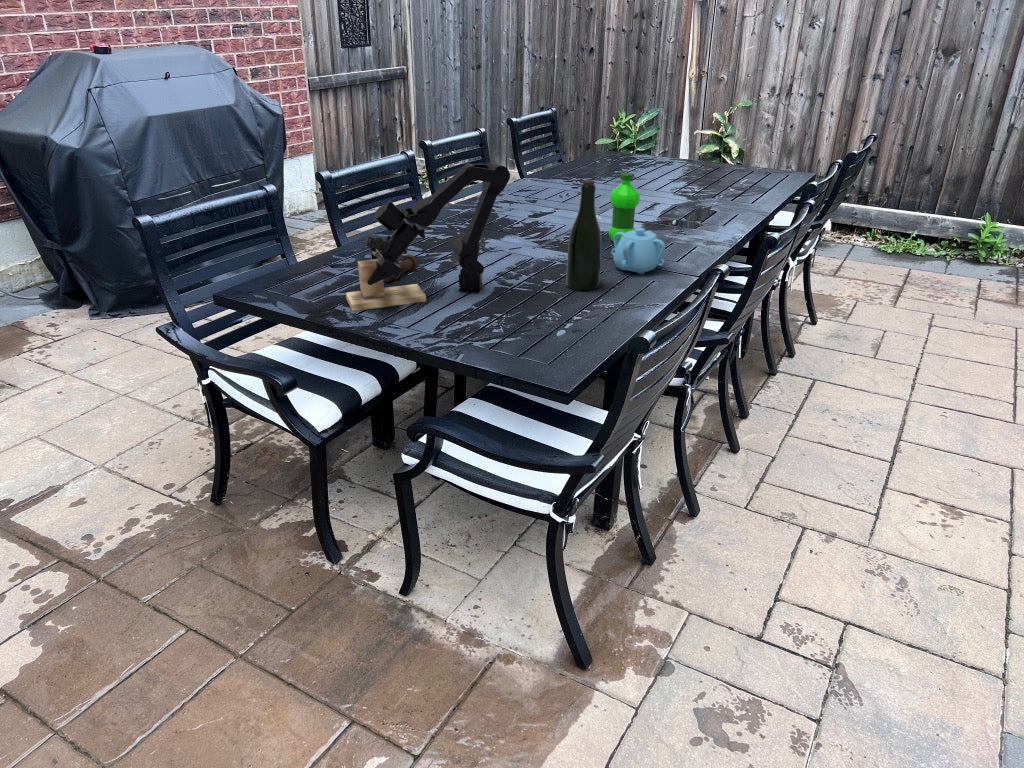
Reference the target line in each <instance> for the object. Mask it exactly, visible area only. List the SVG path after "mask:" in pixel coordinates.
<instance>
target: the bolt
mask: <svg viewBox="0 0 1024 768" xmlns="http://www.w3.org/2000/svg"><path fill="white" fill-rule="evenodd" d="M398 265H399V266H400V268H401V271H402V273H401V275H403V274H404V273H405V272H408V271H412V272H414V271H417V268H418V267H419V260H418V259H417V258H416V256H415V255H413V254H405V255H404V257H403V259H402V261H401V262H398ZM401 275H400V276H399V277H398V278H396V277H395V276H390V277H388V278H385V279H383V282H386V283H389V282H390V281H397V280H399V278H400V277H401Z"/></svg>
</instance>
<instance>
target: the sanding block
mask: <svg viewBox="0 0 1024 768" xmlns="http://www.w3.org/2000/svg"><path fill="white" fill-rule="evenodd" d="M376 261H378V262H380V261H379V260H378V259H373V260H371V259H367V260H358V261H357V268H358V279H359V287H360V291H361V294H362V296H363V298H364V299H371V298H378V297H385V296H384V288H385V287H384V281H383V280H381V281H379V282H376V283H374V284H372V285H369V284H367V282H368V280H369V279H370V277H371V276H372V274H373V272H374V271H375V269H376Z"/></svg>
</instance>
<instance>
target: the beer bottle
mask: <svg viewBox="0 0 1024 768" xmlns="http://www.w3.org/2000/svg"><path fill="white" fill-rule="evenodd" d="M596 189H597V186H596V184H595V180H593V179H583V180H582V184H581V185H580V201H579V208H578V213H577V215H576V218H575V220H574V222H573V224H572V227H571V229H570V233H569V238H568V247H567V261H566V263H567V264H566V277H565V279H566V281H565V282H566V286H567V287H569V288H570V289H572V290H575V291H584V292H585V291H592V290H596V289H597V288H598V287H599V286H600V280H601V277H600V276H601V263H602V261H601V260H602V259H601V258H602V232H601V228H600V224H599V220H598V219H597V214H596Z"/></svg>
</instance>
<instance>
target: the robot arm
mask: <svg viewBox="0 0 1024 768" xmlns="http://www.w3.org/2000/svg"><path fill="white" fill-rule="evenodd" d="M510 179H511V173H510V170H509V169H508V167H506V166H504V165H503V164H502V163H499V162H496V161H492V162H489V163H486V164H485V163H475V164H473V163H465V164H463V166H462V167H461V168H460V169H459V170H458V171H457V172H456V173H454V175H452V176H451V178H449V179H448V180H447V181H446V182H445V183H443V184H442V185H441V186H440V187H439V188H438V189H437V190H436V191H435V192H433V193H432V194H431V195H429V196H426V197H424V198H422V199H420V200H418V201H417V202H415V203H414V204H413V205H412V206H411V207H406V208H402V209H399V208H398V207H397V206H396V205H395V204H394V203H393V202H392V200H390V199H389V200H387V202H385V203H383V204H382V205H380V206H379V207H378V208H377V209H376V211H375V213H374V214H373V219H374V220H375V221H377V223H379V224H380V225H381V226H383V227H384V228H385V229H386V230H388V231H389V232H391V231H393V233H392V234H391V235H390V234H389V235H386V236H385V237H383V236H380V235H377V234H374V233H371V232H367V233H366V235H365V238H364V241H363V243H364V244H365V246H366V247H367V248H368V249H369V250H370V251H369V255H370V260H373V259H378V260H379V261H380V262H378V261H376V269H375V271H374V272H373V274H372V276H371V277H370V279H369V280H368V282H367V284H369V285H372V284H374V283H376V282H379V281H381V280H383V279H385V278H388V277H390V276H395V277H396V278H398V277H399V276H400V277H401V275H402V274H403V273H402V271H401V268H400V266H399V265H398V264H399V261H398V260H399V259H400V257H402V255H403V254H405V255H407V253H408V250H407V249H409V247H410V245H411V244H412V243H413V242H414V241H415V240H416V238H418V236H419V237H420V238H422V239H424V240H425V239H426V234H425V232H426V230H425V228H427V227H429V226H431V225H432V224H433V223H434V222H435V220H436V219H437V218H438V217H439V216H440V215H439V214H440V213H441V211H442V210H443V208H444V207H445V205H447V204H448V203H449V202H450V201H451V200H452V199H453V198H455V197H456V196H457V195H458V194H459V193H460V192H461V191H462V190H463V189H465V188H466V187H467V186H468V185H469V184H470V183H471V182H472V181H479V182H480V181H481V182H482V189H481V192H480V195H479V199H478V201H477V203H476V206H475V208H474V211H473V213H472V216H471V219H470V222H469V223H468V227H467V230H466V232H465V235H464V236H463V237H462V238H461V239H459V238H458V237H456V239H455V242H454V246H453V248H451V251H452V257H453V260H454V261H455V263H457V265H459V267H460V268H461V269H460V271H459V274H458V287H459V288H458V291H459V292H465V293H473V294H474V293H475V294H479V293H480V292H481V291H482V290H483V288H484V287H485V284H483V273H484V270H485V266H484V265H483V264H482V263H481V262H480V261H479V260H478V258H479V254H480V240H481V237H482V235H483V233H484V230H485V227H486V225H487V223H488V220H489V217H490V215H491V212H492V209H493V207H494V205H495V203H496V199H497V197H498V196H499V195H500V194H501V193H502V192H503V191H504V190H505V189H506V187H507V185H508V183H509V182H510ZM401 273H402V274H401ZM400 277H399V278H400Z"/></svg>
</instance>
